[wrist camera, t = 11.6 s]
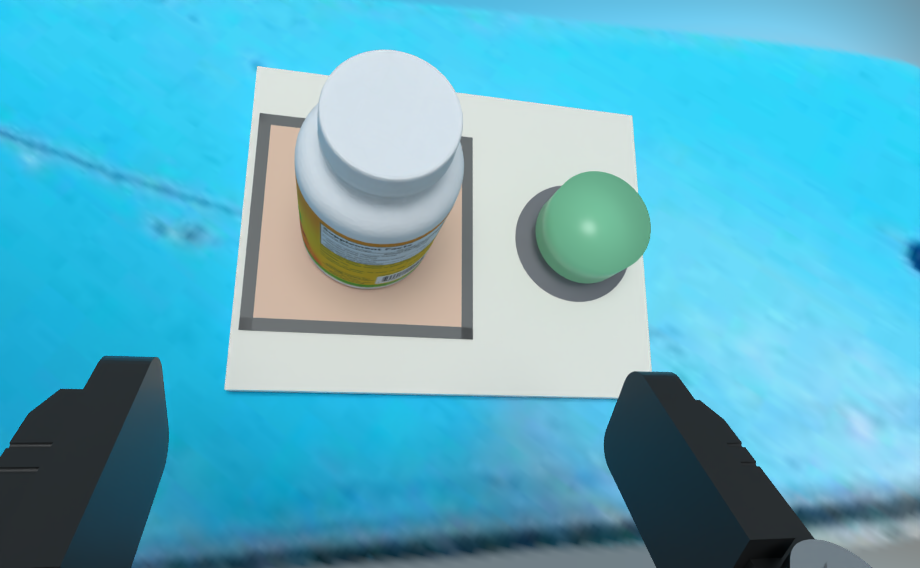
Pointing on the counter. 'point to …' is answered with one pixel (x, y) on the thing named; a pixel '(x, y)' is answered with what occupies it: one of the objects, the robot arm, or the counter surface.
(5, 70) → the counter surface
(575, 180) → the button
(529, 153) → the white board
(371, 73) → the supplement bottle
